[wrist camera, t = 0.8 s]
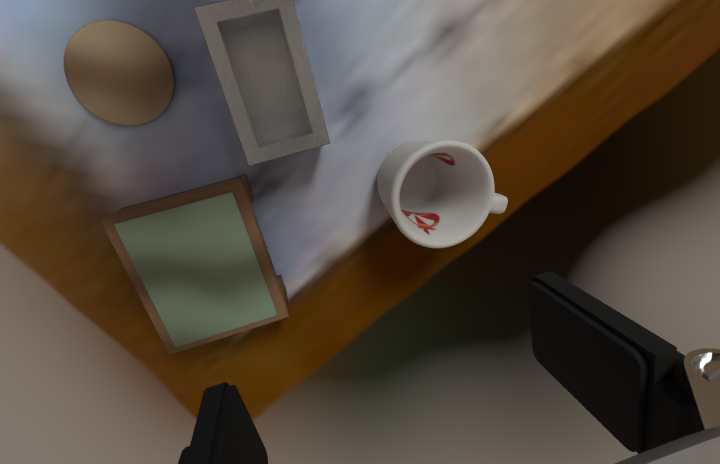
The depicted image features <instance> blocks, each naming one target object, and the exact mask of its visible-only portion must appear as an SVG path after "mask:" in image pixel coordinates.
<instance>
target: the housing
mask: <svg viewBox="0 0 720 464" xmlns="http://www.w3.org/2000/svg"><path fill="white" fill-rule="evenodd" d="M194 9H195V11H196V14H197V17H198V20H199V23H200V26H201V29H202V32H203V35H204V37H205V40H206V43H207V46H208V49H209V52H210V55H211V58H212V61H213V63H214V66H215V69H216V72H217V75H218V78H219V81H220V84H221V87H222V89H223V92H224V95H225V98H226V101H227V104H228V107H229V110H230V113H231V115H232V118H233V121H234V124H235V127H236V130H237V133H238V136H239V139H240V141H241V144H242V147H243V150H244V153H245V156H246V159H247V162H248V165H249V166H250V165H253V164H257V163H261V162H264V161H268V160H272V159H276V158H279V157H283V156H287V155H290V154H294V153H298V152H301V151H305V150H309V149H313V148H316V147H320V146H324V145H327V144H330V141H329V137H328V133H327V129H326V126H325V122H324V118H323V114H322V110H321V106H320V103H319V99H318V95H317V91H316V87H315V83H314V80H313V76H312V72H311V68H310V64H309V61H308V57H307V53H306V49H305V45H304V41H303V38H302V34H301V30H300V26H299V22H298V18H297V15H296V11H295V7H294V3H293V0H227V1H222V2H217V3H213V4H208V5H204V6H199V7H194Z"/></svg>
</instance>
